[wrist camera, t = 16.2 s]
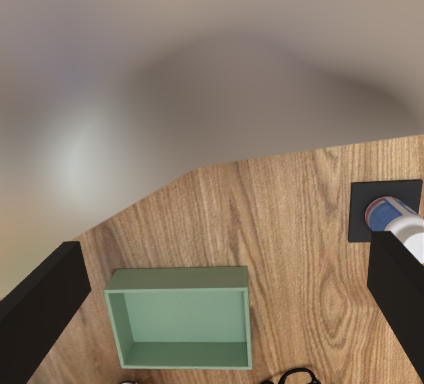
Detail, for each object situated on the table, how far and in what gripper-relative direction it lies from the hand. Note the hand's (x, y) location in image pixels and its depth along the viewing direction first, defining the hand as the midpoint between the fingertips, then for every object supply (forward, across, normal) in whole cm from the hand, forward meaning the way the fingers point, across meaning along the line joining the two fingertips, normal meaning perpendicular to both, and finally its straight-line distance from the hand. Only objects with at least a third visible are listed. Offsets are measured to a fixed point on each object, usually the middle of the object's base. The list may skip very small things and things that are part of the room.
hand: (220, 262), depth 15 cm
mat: (+32, +20, -12) cm, 39 cm away
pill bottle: (+31, +20, -12) cm, 39 cm away
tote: (+32, -10, -28) cm, 43 cm away
